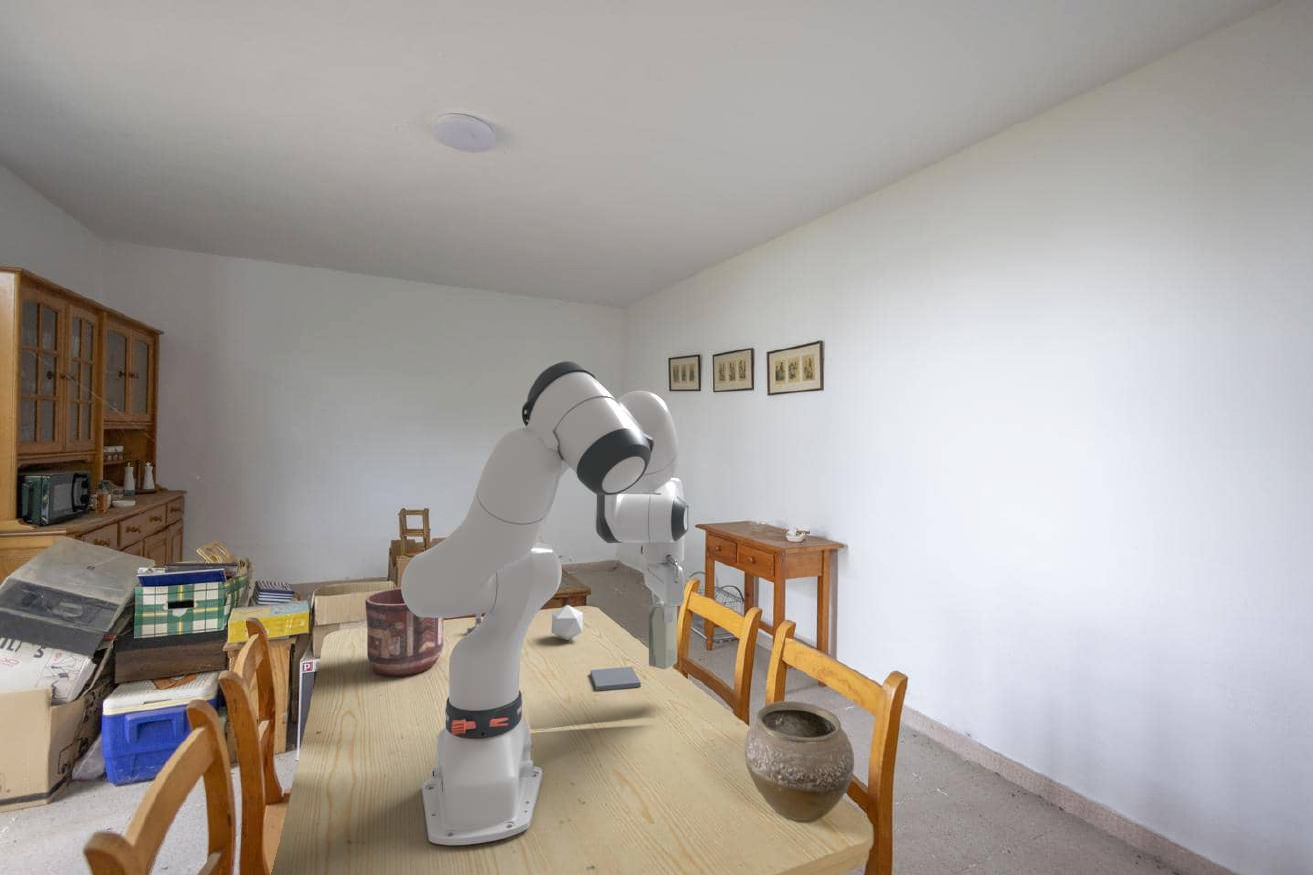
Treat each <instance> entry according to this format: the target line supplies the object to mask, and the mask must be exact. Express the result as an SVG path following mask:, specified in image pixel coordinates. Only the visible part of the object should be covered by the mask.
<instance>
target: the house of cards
mask: <svg viewBox="0 0 1313 875" xmlns="http://www.w3.org/2000/svg"><path fill="white" fill-rule="evenodd" d="M481 621H482V613H479V614H475V622H474V626H471V627H467V628H466V635H467V634H469V633H470V632H472V631H473V630H474V629H475V628H476V627H477V626H478V625H479V624H480V622H481Z"/></svg>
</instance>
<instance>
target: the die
mask: <svg viewBox="0 0 1313 875" xmlns="http://www.w3.org/2000/svg"><path fill="white" fill-rule="evenodd" d="M551 615H552V617H551V634H553V635H555V636H557V637H559V638H561V639H563V640H565V641H569V640H571V639H573V638H575V637H577V636H579V635H580V634H582V633H583V630H584V629H583V625H584V624H583V622H584V612H582V611H580V610H578V609H576V608H574V607H572V606H570V605H569V604H566V605H565V606H563V607H561V608H559V609H558V610H556V611H554V612H552V614H551Z"/></svg>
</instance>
